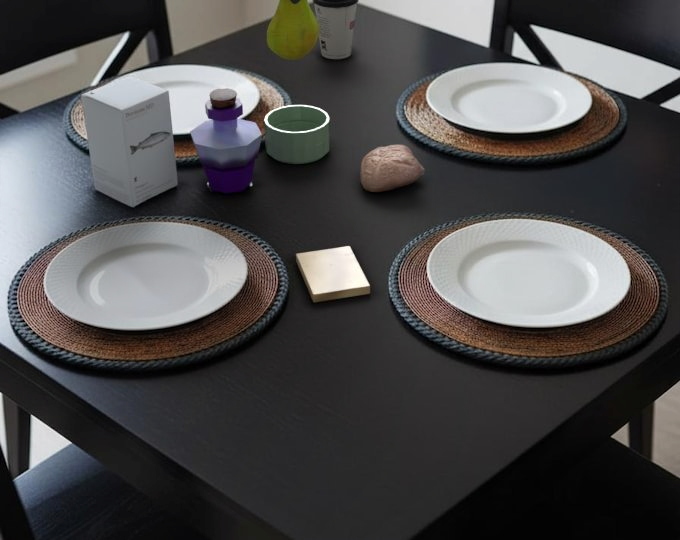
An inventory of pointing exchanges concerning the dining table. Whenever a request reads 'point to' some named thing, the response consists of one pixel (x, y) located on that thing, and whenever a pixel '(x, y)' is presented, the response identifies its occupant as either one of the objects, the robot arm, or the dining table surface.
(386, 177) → the brown rounded lump
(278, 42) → the fruit
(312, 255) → the board
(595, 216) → the dining table surface
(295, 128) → the bowl
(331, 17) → the coffee cup
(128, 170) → the white packaging box
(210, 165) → the potion bottle
